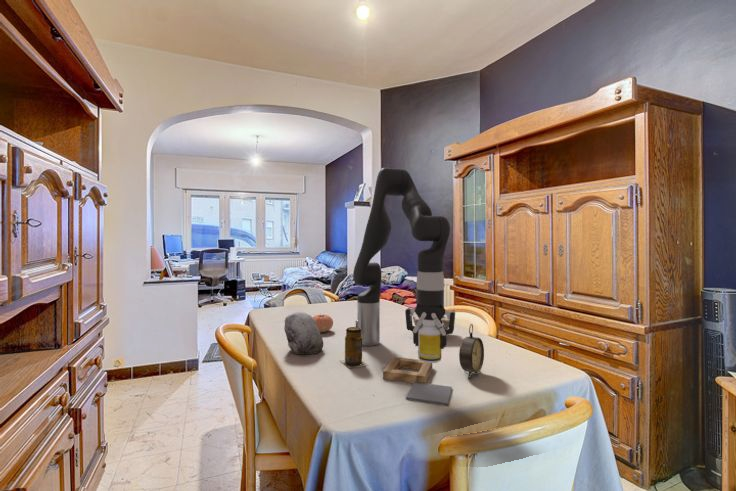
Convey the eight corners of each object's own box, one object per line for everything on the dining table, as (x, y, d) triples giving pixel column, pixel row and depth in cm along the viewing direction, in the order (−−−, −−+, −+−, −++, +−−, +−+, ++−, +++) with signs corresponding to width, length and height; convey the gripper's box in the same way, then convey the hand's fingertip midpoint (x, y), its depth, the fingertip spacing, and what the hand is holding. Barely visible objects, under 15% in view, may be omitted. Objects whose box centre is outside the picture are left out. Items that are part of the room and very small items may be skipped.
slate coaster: (406, 399, 99) (406, 397, 99) (414, 383, 110) (414, 381, 110) (447, 405, 96) (447, 403, 96) (451, 388, 106) (451, 386, 106)
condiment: (358, 358, 133) (358, 325, 132) (368, 365, 125) (368, 330, 125) (339, 361, 130) (339, 327, 129) (349, 369, 122) (349, 333, 122)
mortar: (449, 331, 169) (449, 312, 169) (452, 342, 153) (452, 320, 152) (413, 330, 172) (413, 310, 172) (412, 340, 155) (412, 318, 155)
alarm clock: (472, 381, 112) (473, 328, 111) (455, 377, 115) (456, 326, 114) (485, 371, 120) (485, 322, 120) (469, 367, 123) (469, 319, 123)
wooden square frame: (383, 378, 114) (383, 371, 113) (394, 363, 127) (394, 356, 127) (424, 384, 109) (424, 376, 109) (432, 368, 123) (432, 361, 122)
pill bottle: (441, 364, 99) (441, 322, 98) (417, 363, 100) (417, 320, 100) (441, 356, 105) (441, 316, 105) (418, 355, 106) (419, 315, 106)
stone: (324, 355, 136) (324, 315, 136) (284, 357, 133) (283, 316, 133) (321, 345, 148) (321, 308, 148) (284, 347, 145) (284, 309, 145)
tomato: (331, 334, 164) (331, 317, 164) (307, 334, 164) (307, 316, 164) (334, 328, 175) (334, 312, 174) (311, 328, 175) (311, 311, 175)
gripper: (401, 288, 101) (401, 348, 101) (455, 290, 96) (454, 353, 97) (408, 284, 108) (407, 340, 108) (457, 287, 103) (457, 345, 104)
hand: (429, 346), depth 103 cm, fingers closed on pill bottle, 6 cm apart
